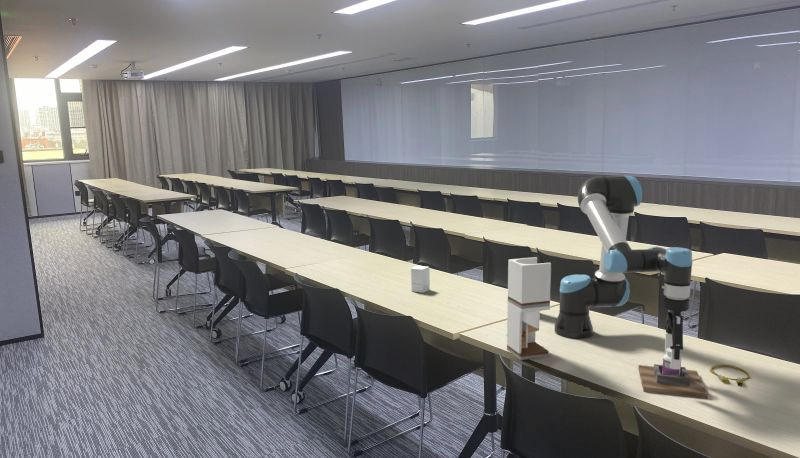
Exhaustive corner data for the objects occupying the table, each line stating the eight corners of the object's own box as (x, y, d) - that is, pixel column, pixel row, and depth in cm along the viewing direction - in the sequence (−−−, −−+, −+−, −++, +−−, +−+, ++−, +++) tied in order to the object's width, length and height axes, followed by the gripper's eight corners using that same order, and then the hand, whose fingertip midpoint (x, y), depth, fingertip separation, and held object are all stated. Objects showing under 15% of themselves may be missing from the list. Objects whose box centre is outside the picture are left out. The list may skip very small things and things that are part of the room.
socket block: (638, 369, 197) (639, 358, 196) (696, 374, 192) (697, 363, 191) (643, 391, 180) (644, 379, 180) (707, 398, 175) (708, 386, 174)
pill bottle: (664, 373, 190) (666, 345, 188) (681, 377, 186) (684, 349, 185) (659, 378, 186) (661, 350, 184) (676, 383, 182) (679, 354, 181)
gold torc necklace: (700, 378, 190) (700, 372, 190) (717, 365, 201) (718, 359, 200) (740, 389, 181) (741, 383, 181) (757, 375, 192) (757, 369, 192)
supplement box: (430, 289, 303) (430, 266, 301) (423, 293, 296) (423, 269, 294) (418, 288, 307) (417, 265, 305) (411, 291, 300) (410, 267, 298)
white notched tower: (520, 360, 207) (522, 265, 201) (506, 349, 217) (508, 259, 211) (548, 356, 210) (551, 263, 204) (533, 346, 220) (535, 257, 214)
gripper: (658, 286, 194) (655, 345, 198) (668, 307, 171) (664, 374, 174) (682, 287, 192) (678, 347, 195) (696, 308, 168) (691, 377, 172)
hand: (672, 360), depth 185 cm, fingers open, 13 cm apart
